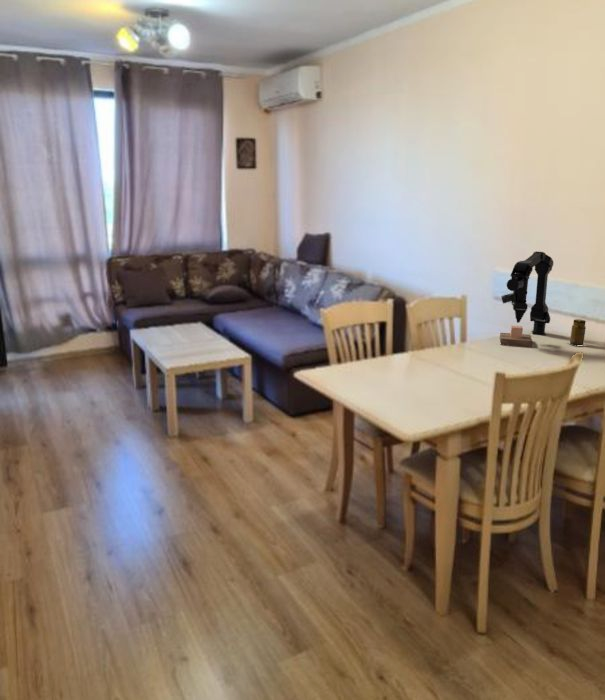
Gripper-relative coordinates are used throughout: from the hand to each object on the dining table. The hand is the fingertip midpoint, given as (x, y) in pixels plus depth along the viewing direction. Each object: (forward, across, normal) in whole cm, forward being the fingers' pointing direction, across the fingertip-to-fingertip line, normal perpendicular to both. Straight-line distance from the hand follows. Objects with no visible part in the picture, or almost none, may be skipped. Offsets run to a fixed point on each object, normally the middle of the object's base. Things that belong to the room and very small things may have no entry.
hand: (517, 320), depth 291 cm
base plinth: (+11, 0, 0) cm, 11 cm away
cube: (+8, 0, 0) cm, 8 cm away
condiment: (+11, -6, +29) cm, 32 cm away
